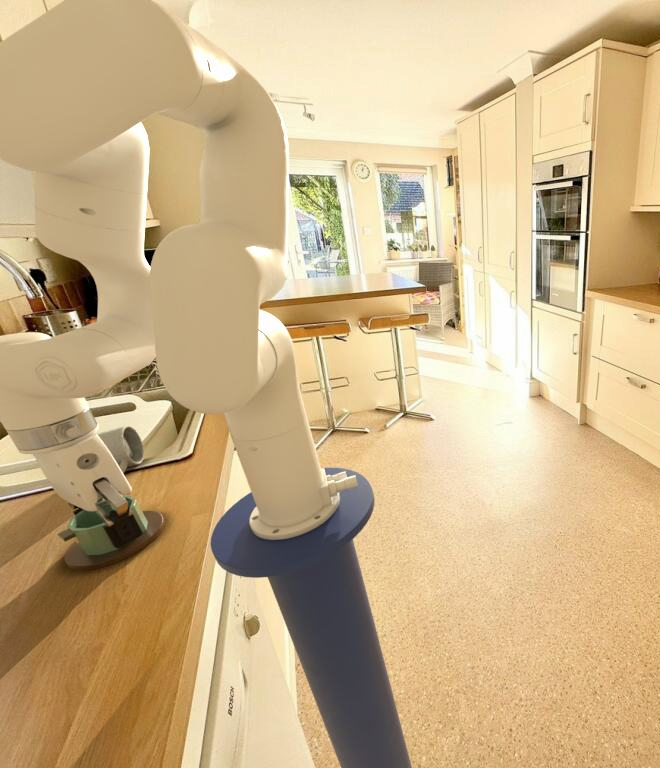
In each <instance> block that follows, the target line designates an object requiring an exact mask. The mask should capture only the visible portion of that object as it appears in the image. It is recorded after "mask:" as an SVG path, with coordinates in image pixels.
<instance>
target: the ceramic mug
mask: <svg viewBox="0 0 660 768" xmlns="http://www.w3.org/2000/svg"><path fill="white" fill-rule="evenodd" d="M96 434H97V435H98V436H99V437H100V439H101V440H102V441H103V443H104V444H105V445H106V447H107V448H108V450H109V451H110V453H111V454H112V456H113V457H114V459H115V461H116V462H117V464H118V466H119V467H120V469H121V471H122V472H123V474H124V473H125V472H126V470H127V468H129V467H130V468H131V467H134V466H138V465H140V464H141V463H142V462H143V461H144V459H145V447H144V446H145V445H144V444H143V441H142V439H141V436H140V435H139V433H138V432H137V430H136V429H135V428H134V427H132V426H130V425H124V426H120V427H116V428H112V429H109V430H108V429H107V430H105V431H102V432H96ZM124 475H125V474H124Z"/></svg>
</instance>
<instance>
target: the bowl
mask: <svg viewBox="0 0 660 768" xmlns="http://www.w3.org/2000/svg"><path fill="white" fill-rule="evenodd" d="M122 496H123V497H124V498H125V499H126V500H127V502H128V507H130V509H131V511H132V513H133V515H134V517H135V519H136V521H137V523H138V525H139V527H140V528H141V530H142V533H143V532H144V531H145V530H146V528H147V524H148V522H147V520H146V518H145V516H144V514H143V512H142V511H143V509H142V507H141V506H140V504H139V502H138V500H137V499H136V498H135V497H133V496H132V495H122ZM102 500H103V501H100V502H97V505H98V506H99V505H101V504H103V503H105V502H107V501H106V500H105V499H102ZM103 510H104V511H105V512H106V514H107V515H108V516H109V512H110V511H112V509H111V506H110V505H109V506H107V507H106V508H104V509H103ZM103 526H105V523H104V522H103V521H102V520H101V518H100V517H99V516H98V515H97V513H96V512H95V511H86V510H84V509H83V510H82V511H80V512H79V513H78V514H76V515H73V516H72V517H70V519H69V522H68V523H67V525H66V528H67V529H64V530H62V531H61V532H58V533H57V534H56V535H57V536H58V538H59V539H60V540H61V541H63V542H64V543H66V542H68V541H70V540H72V539H73V540H74V542H75V541H76V542H77V544H78V546H79V547H80V549H81V551H82V552H84V553H85V554H86V555H102V554H105V553H108V552H111V551H114V550H117V548H115V547H114V546H113V544H112V542H111V540H110V539H109V537H108V535H107V533H106V532H105V530H104V528H103ZM136 539H137V538H136ZM134 540H135V539H134ZM134 540H133V541H134ZM131 542H132V541H131ZM129 543H130V542H129ZM129 543H128V544H129ZM126 545H127V544H126ZM124 546H125V545H124Z"/></svg>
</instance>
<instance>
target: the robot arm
mask: <svg viewBox="0 0 660 768" xmlns="http://www.w3.org/2000/svg"><path fill="white" fill-rule="evenodd" d="M155 115H160V116H163V117H166V118H169V119H172V120H174V121H179V122H181V123H186V124H189V125H191V126H193V127H195V128H197V129H198V130H199V131H201V133H202V134H203V136H204V141H205V144H204V148H203V151H202V155H201V159H200V165H199V170H198V184H199V185H198V186H199V194H200V195H199V197H200V198H199V199H200V201H199V203H200V204H199V205H200V207H199V208H200V209H199V212H200V213H199V214H200V215H199V222H198V223H197V222H196V223H192V224H186V225H183V226H181V227H178V228H175V229H174V230H173V231H171V232H169V233H168V234H167V235H166V236H164V237H163V239H162V240H161V241H160V242H159V243H158V245H157V247H156V249H155V251H154V253H153V256H152V258H151V259H152V260H151V263H150V265H149V263H148V261H147V259H146V257H145V235H146V234H145V232H146V214H147V197H148V184H149V183H148V182H149V165H150V144H149V138H148V137H149V136H148V134H147V132H146V129H145V127H144V124H143V123H142V122H145V121H146V120H147V119H149V118H152V117H153V116H155ZM0 160H1V161H3V162H6V163H7V164H9V165H12V166H14V167H17V168H20V169H22V170H26V171H31V172H34V176H33V177H34V199H35V200H34V202H35V203H34V204H35V205H34V209H35V210H34V217H35V218H34V219H35V220H34V232H35V236H36V238H37V240H38V242H40V243H41V244H42V245H43V247H45V248H47V249H48V250H50V251H52V252H54V253H55V254H58V255H60V256H63V257H66V258H69V259H72V260H75V261H78V262H79V263H80V264H82V265H83V266H84V267H85V268H86V269H87V270H88V271H89V273H90V275H91V277H92V278H93V280H94V282H95V283H94V284H95V286H96V292H97V316H96V321H95V322H92V323H89V324H86V325H83V326H81V327H78V328H74V329H72V330H69V331H66V332H64V333H61V334H57V335H54V336H52V337H51V336H50V335H48V334H46V333H43V332H37V331H36V332H35V331H27V332H17V333H9V334H3V335H0V423H1V425H2V426H3V428H4V429H5V431H6V432H7V434H8V436H9V437H10V439H11V441H12V442H13V444H14V446H15V447H16V449H17V451H18V453H20V454H23V455H32V456H33V457H34V458H35V461H36V462H37V464H38V467H39V468H40V470H41V471H42V473H43V475H44V477H45V478H46V480H47V482H48V483H49V485H50V486H51V488H52V489H53V491H54V492H55V494H56V495H58V497H59V498H61V499H62V500H63V501H66V502H67V503H68V506H69V507H70V509H72V513H73V516H75V515H76V514H78V513H79V512H80V511H82V510H83V509H84V510H86V511H95V512H96V513H97V515H98V516H99V517H100V518H101V520H102V521H103V522H104V523H105V526H103V528H104V530H105V532H106V533H107V535H108V537H109V539H110V540H111V542H112V544H113V546H114V547H115V548H117V549H119V548H121V547H123V546H124V545H126V544H128V543H129V542H131V541H133V540H134V539H136V538H138V537H139V536H141V535H142V530H141V528H140V527H139V525H138V523H137V521H136V519H135V517H134V515H133V513H132V511H131V509H130V507H128V502H127V500H126V499H125V498H124V497H123V496H130V495H131V494H132V493H133V492H132V490H133V488H132V486H131V484H130V483H129V481H128V479H127V477H126V476H125V474H123V472H122V471H121V469H120V467H119V466H118V464H117V462H116V461H115V459H114V457H113V456H112V454H111V453H110V451H109V450H108V448H107V447H106V445H105V444H104V443H103V441H102V440H101V439H100V437H99V436H98V435H97V433H98V431H99V430H100V425H99V424H98V421H97V419H96V418H95V416H94V414H93V412H92V410H91V408H90V405H89V404H88V401H87V400H86V398H88V397H92V396H95V395H98V394H101V393H102V392H104V391H106V390H108V389H109V388H111V387H114V385H117V384H118V383H120V382H122V381H123V380H124V379H127V378H129V377H130V376H132V375H133V374H135V373H137V372H139V371H141V370H143V369H144V368H146V367H148V366H149V365H151V364H152V363H153V361H154V360H155V361H156V366H157V371H158V375H159V378H160V381H161V383H162V385H163V387H164V389H165V390H166V391H167V392H168V394H169V395H170V396H171V397H172V398H173V400H175V401H176V402H177V403H178V404H179V405H180V406H182V407H184V408H185V409H188V410H190V411H193V412H195V413H199V414H202V415H221V414H223V416H224V419H225V423H226V426H227V428H228V431H229V435H230V438H231V440H232V443H233V446H234V448H235V451H236V455H237V457H238V459H239V462H240V465H241V468H242V470H243V473H244V476H245V478H246V481H247V485H248V487H249V489H250V492H252V495H253V498H254V501H255V503H256V507H255V508H254V510H253V512H252V513H251V516H250V519H249V524H250V527H251V529H252V531H253V533H254V534H255V535H257V536H258V537H260V538H263V539H269V540H282V539H288V538H292V537H296V536H299V535H302V534H304V533H307V532H309V531H311V530H313V529H315V528H317V527H318V526H320V525H321V524H323V523H324V522H325V521H326V520H327V519H329V518H330V517H331V516H332V515H333V513H334V512H335V511H336V509H337V508H338V505H339V503H340V495H339V492H342V491H345V490H350V489H353V488H356V487H358V484H357V480H356V476H355V475H354V476H351V477H348V478H347V475H346V471H345V472H342V473H338V474H336V475H333V476H330V475H327V476H326V474H325V470H324V468H325V467H321V463H320V459H319V455H318V452H317V449H316V448H317V447H316V445H315V440H314V438H313V434H312V430H311V426H310V422H309V419H308V414H307V410H306V408H305V404H304V403H305V402H304V400H303V396H302V392H301V385H300V381H299V374H298V367H297V360H296V352H295V351H296V350H295V347H294V343H293V339H292V337H291V335H290V333H289V332H288V329H287V328H286V326H285V325H284V324H283V323H282V322H281V321H280V320H279V319H278V318H277V317H276V316H274V315H272V314H271V313H269V312H267V311H264V310H261V309H260V308H261V305H262V304H264V303H265V302H267V301H269V300H271V299H272V298H274V297H275V296H277V294H279V292H280V291H281V290H282V289H283V288H284V286H285V284H286V281H287V278H288V277H287V275H288V232H289V231H288V230H289V226H288V225H289V176H290V175H289V173H290V171H289V170H290V149H289V141H288V135H287V129H286V126H285V123H284V120H283V117H282V115H281V113H280V111H279V109H278V107H277V105H276V103H275V102H274V100H273V98H272V97H271V95H270V94H269V92H268V90H266V89H265V87H264V86H263V85H262V84H261V83H260V82H259V81H258V80H257V78H256V77H255V76H253V74H252V73H250V72H249V71H248V70H247V69H246V67H244V66H243V65H242V64H241V63H240V62H238V61H237V60H235V58H233V57H232V56H231V55H229V54H228V53H227V52H226V51H225V50H224V49H222V48H221V47H219V46H218V45H217V44H215V43H214V42H213V41H211V40H210V39H209V38H207V37H206V36H205V35H203V34H202V33H200V32H199V31H197V30H196V29H195V28H194V27H192V26H190V25H188V24H187V23H186V22H184V21H183V20H182V19H181V18H179V17H178V16H176V15H175V14H174V13H172V12H171V11H169V10H168V9H166V8H165V7H164V6H162V5H160V4H159V3H157V2H156V1H155V0H62V1H61V2H59V3H58V4H56V5H55V6H53V7H52V8H50V9H49V10H48V11H46V12H45V13H43V14H41V15H40V16H39V17H38V16H37V18H35V19H33V20H32V21H30V22H29V23H27V24H26V25H24V26H23V27H21V28H20V29H18V30H17V31H15V32H14V33H12V34H10V35H9V36H7V37H6V38H5V39H2V41H0ZM321 468H322V469H321ZM103 500H106V501H107V502H105V503H103V504H101V505H99V506H98V505H97V502H100V501H103ZM109 505H110V506H111V509H112V511H110V512H109V516H108V515H107V514H106V512H105V511H104V510H103V509H104V508H106V507H107V506H109Z"/></svg>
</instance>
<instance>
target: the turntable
mask: <svg viewBox="0 0 660 768" xmlns="http://www.w3.org/2000/svg"><path fill="white" fill-rule="evenodd" d="M142 512H143V514H144V516H145V518H146V520H147V522H148V524H147V528H146V530H145V531H144V532H143V533H142V535H141V536H139V537H138V538H137V539H135V540H134V541H132V542H130V543H129V544H127V545H125V546H123V547H121V548H119V549H117V550H114V551H111V552H108V553H105V554H102V555H86V554H85V553H84V552H82V551H81V549H80V547H79V546H78V544H77V542H76V541H75V540H74V542H72V544H71V545H70V546H69V547H68V548H67V550H66V551H65V553H64V556H63V557H64V558H63V559H64V562H65V564H66V565H67V567H68V568H70V569H71V570H75V571H91V570H96V569H101V568H104V567H107V566H110V565H114V564H116V563H118V562H120V561H123V560H126V559H127V558H129V557H131V556H133V555H135V554H136V553H137V552H140V551H141V550H143V549H144V548H146V547H147V546H148V545H150V544H151V543H152V542H154V540H156V539H157V537H159V535H160V534H161V533H162V531H163V530H164V528H165V525H166V524H165V523H166V522H165V519H164V517H163V515H162V514H161V513H160V512H158V511H154V510H142Z"/></svg>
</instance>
